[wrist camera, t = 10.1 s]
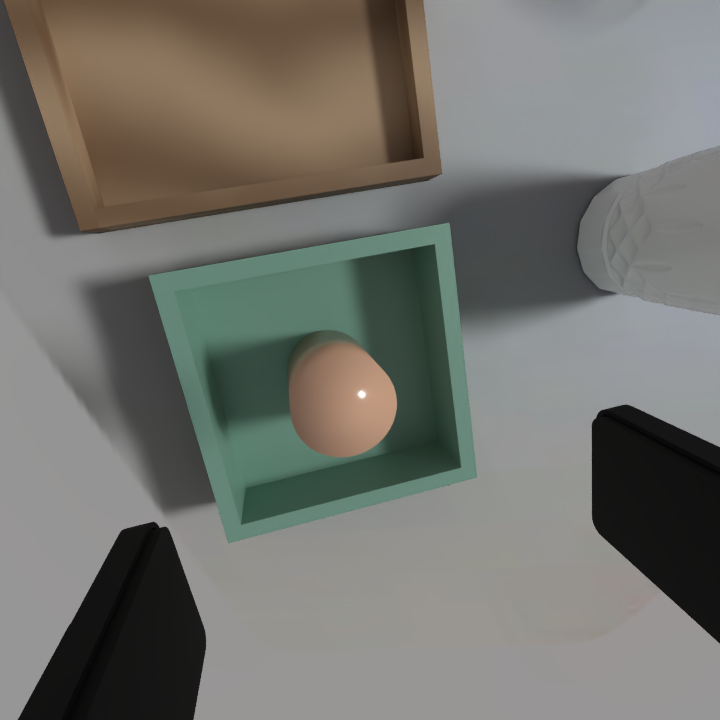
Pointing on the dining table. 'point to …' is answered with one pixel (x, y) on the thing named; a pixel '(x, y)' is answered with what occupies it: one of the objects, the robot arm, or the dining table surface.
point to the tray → (227, 102)
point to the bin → (270, 381)
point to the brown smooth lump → (338, 395)
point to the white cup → (658, 234)
